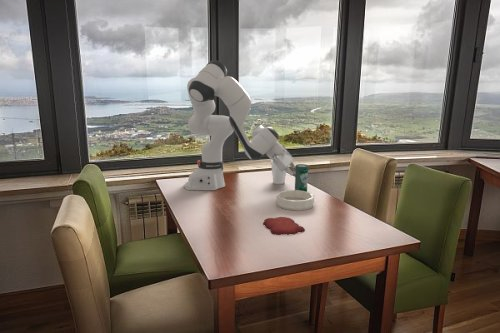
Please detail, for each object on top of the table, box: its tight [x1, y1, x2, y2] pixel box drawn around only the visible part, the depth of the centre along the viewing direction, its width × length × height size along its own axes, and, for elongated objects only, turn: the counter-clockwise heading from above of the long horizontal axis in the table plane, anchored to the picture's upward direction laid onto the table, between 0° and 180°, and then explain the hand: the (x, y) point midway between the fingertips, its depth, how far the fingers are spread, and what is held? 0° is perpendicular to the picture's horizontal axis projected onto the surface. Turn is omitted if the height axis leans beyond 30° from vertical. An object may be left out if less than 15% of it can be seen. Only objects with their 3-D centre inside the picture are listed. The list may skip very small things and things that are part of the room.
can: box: [294, 163, 309, 192], centre depth 193 cm, size 6×6×15 cm
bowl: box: [275, 189, 315, 212], centre depth 177 cm, size 17×17×4 cm
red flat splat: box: [262, 216, 305, 236], centre depth 151 cm, size 18×14×2 cm
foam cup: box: [270, 159, 287, 185], centre depth 213 cm, size 10×9×13 cm
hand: (294, 172), depth 192 cm, fingers open, 8 cm apart
